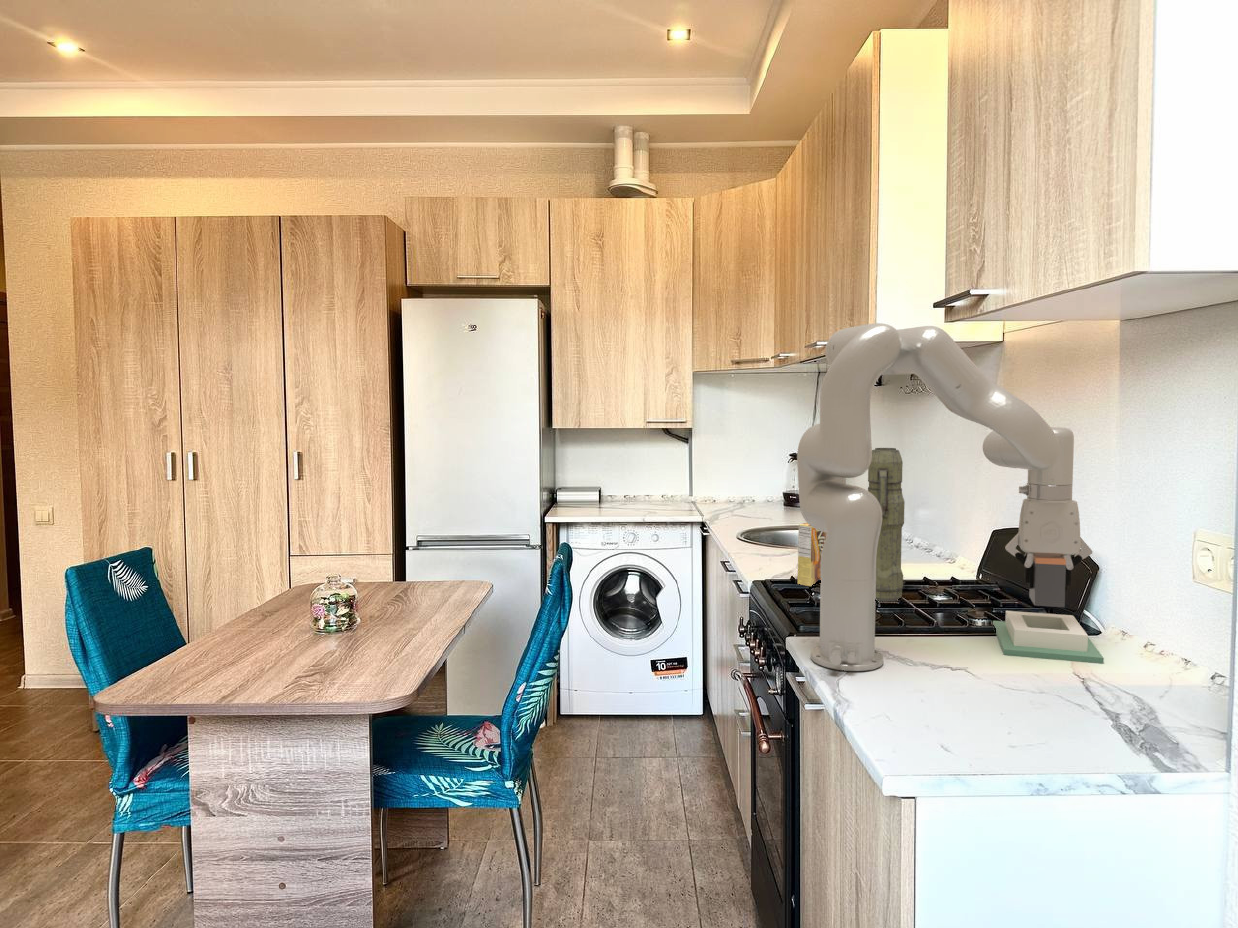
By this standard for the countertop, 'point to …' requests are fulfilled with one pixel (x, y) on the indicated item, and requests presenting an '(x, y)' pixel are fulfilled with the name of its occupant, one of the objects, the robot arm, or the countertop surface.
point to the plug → (1048, 580)
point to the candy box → (809, 554)
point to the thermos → (888, 520)
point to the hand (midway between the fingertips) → (1046, 587)
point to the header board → (1043, 651)
